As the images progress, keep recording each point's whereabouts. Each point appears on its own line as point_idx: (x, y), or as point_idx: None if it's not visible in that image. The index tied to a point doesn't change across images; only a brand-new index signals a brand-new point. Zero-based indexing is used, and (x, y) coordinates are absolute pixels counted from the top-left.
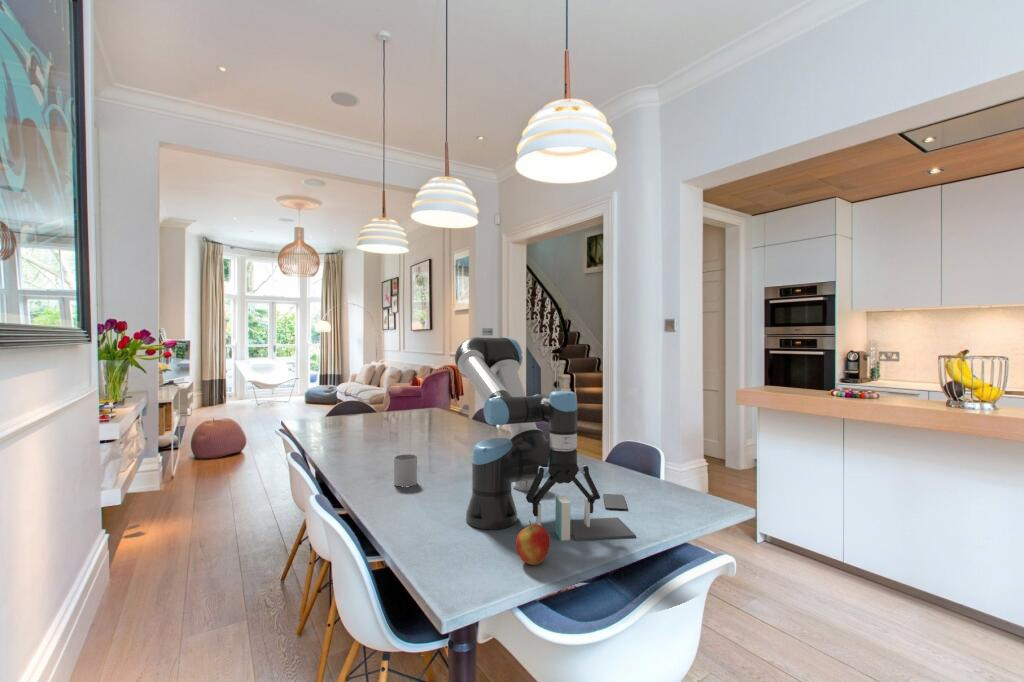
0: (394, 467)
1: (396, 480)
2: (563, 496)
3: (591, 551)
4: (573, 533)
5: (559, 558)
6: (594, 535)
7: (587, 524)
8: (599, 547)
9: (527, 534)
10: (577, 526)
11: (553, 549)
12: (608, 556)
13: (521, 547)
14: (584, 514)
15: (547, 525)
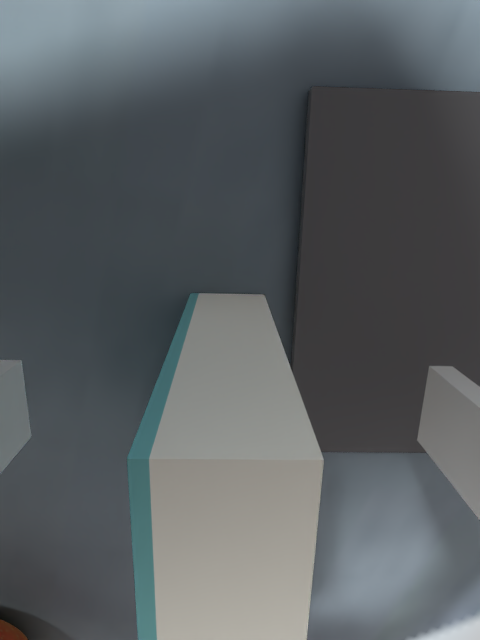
0: None
1: None
2: (282, 482)
3: (328, 568)
4: (305, 377)
5: (134, 613)
6: None
7: (427, 449)
8: (394, 533)
9: None
10: (386, 256)
11: (122, 526)
12: (390, 620)
13: None
14: (470, 406)
15: (155, 143)
